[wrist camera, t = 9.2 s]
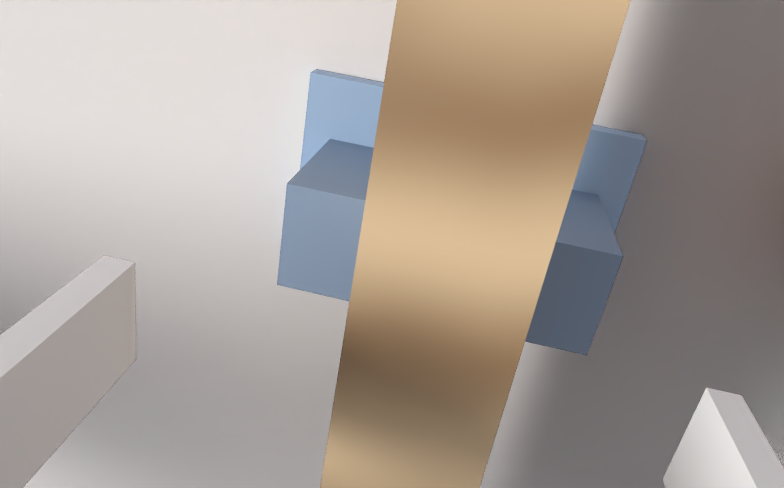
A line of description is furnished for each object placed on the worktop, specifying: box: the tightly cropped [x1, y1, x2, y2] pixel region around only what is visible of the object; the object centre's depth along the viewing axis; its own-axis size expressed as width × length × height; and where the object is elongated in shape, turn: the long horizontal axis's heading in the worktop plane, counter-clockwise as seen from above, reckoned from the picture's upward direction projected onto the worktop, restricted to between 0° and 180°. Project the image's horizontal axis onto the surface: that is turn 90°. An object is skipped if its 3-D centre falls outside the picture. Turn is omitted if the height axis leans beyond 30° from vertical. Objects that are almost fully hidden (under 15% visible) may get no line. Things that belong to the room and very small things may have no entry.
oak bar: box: [320, 0, 631, 488], centre depth 17 cm, size 24×4×5 cm, turn 170°
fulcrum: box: [277, 69, 647, 355], centre depth 22 cm, size 12×8×6 cm, turn 80°
